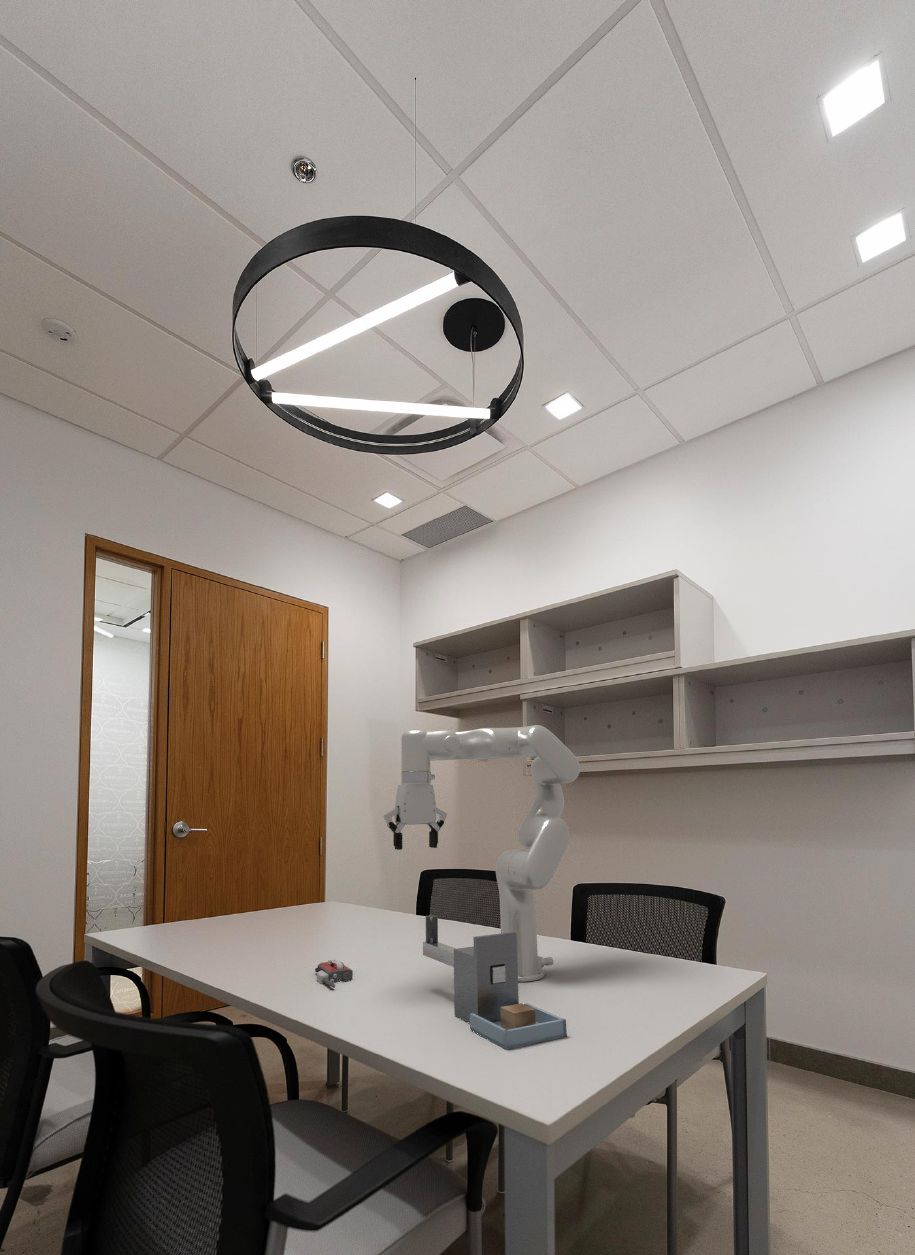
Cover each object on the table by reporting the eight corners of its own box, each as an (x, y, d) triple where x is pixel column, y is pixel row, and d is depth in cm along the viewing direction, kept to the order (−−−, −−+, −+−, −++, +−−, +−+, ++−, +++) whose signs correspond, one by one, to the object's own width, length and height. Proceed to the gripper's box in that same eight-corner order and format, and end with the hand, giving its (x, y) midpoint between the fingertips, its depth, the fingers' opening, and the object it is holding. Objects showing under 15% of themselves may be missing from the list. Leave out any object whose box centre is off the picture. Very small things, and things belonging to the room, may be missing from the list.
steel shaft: (433, 953, 176) (433, 914, 178) (505, 981, 148) (504, 935, 150) (422, 954, 175) (422, 915, 177) (493, 983, 147) (492, 936, 149)
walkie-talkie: (307, 975, 191) (329, 993, 174) (308, 958, 192) (329, 973, 175) (339, 971, 195) (363, 988, 178) (339, 954, 196) (363, 969, 179)
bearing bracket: (494, 1008, 157) (492, 926, 161) (519, 1020, 149) (516, 932, 153) (454, 1015, 152) (453, 930, 156) (478, 1028, 144) (476, 937, 148)
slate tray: (527, 1019, 149) (527, 1003, 150) (566, 1036, 138) (566, 1019, 139) (470, 1030, 143) (469, 1013, 143) (506, 1049, 131) (505, 1031, 132)
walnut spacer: (535, 1009, 140) (536, 1031, 139) (521, 1003, 144) (521, 1025, 144) (514, 1013, 138) (514, 1036, 137) (500, 1007, 142) (500, 1029, 141)
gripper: (439, 779, 190) (439, 846, 186) (379, 779, 182) (378, 849, 178) (452, 778, 183) (453, 847, 179) (390, 778, 175) (390, 851, 171)
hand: (416, 848), depth 178 cm, fingers open, 9 cm apart
